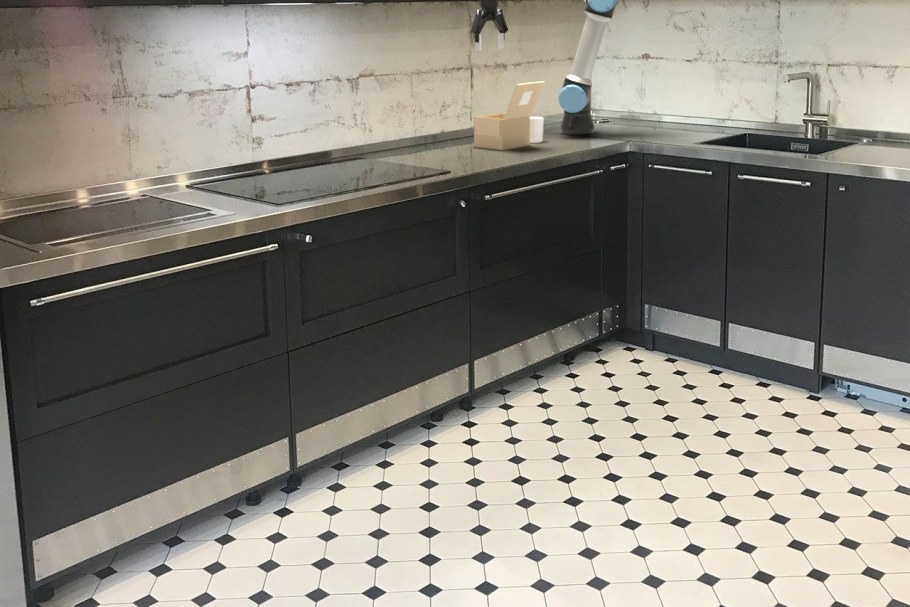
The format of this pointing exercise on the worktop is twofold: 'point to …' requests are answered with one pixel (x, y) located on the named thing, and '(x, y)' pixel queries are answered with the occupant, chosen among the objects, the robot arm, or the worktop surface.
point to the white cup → (536, 129)
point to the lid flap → (523, 100)
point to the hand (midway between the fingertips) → (489, 49)
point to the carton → (501, 132)
